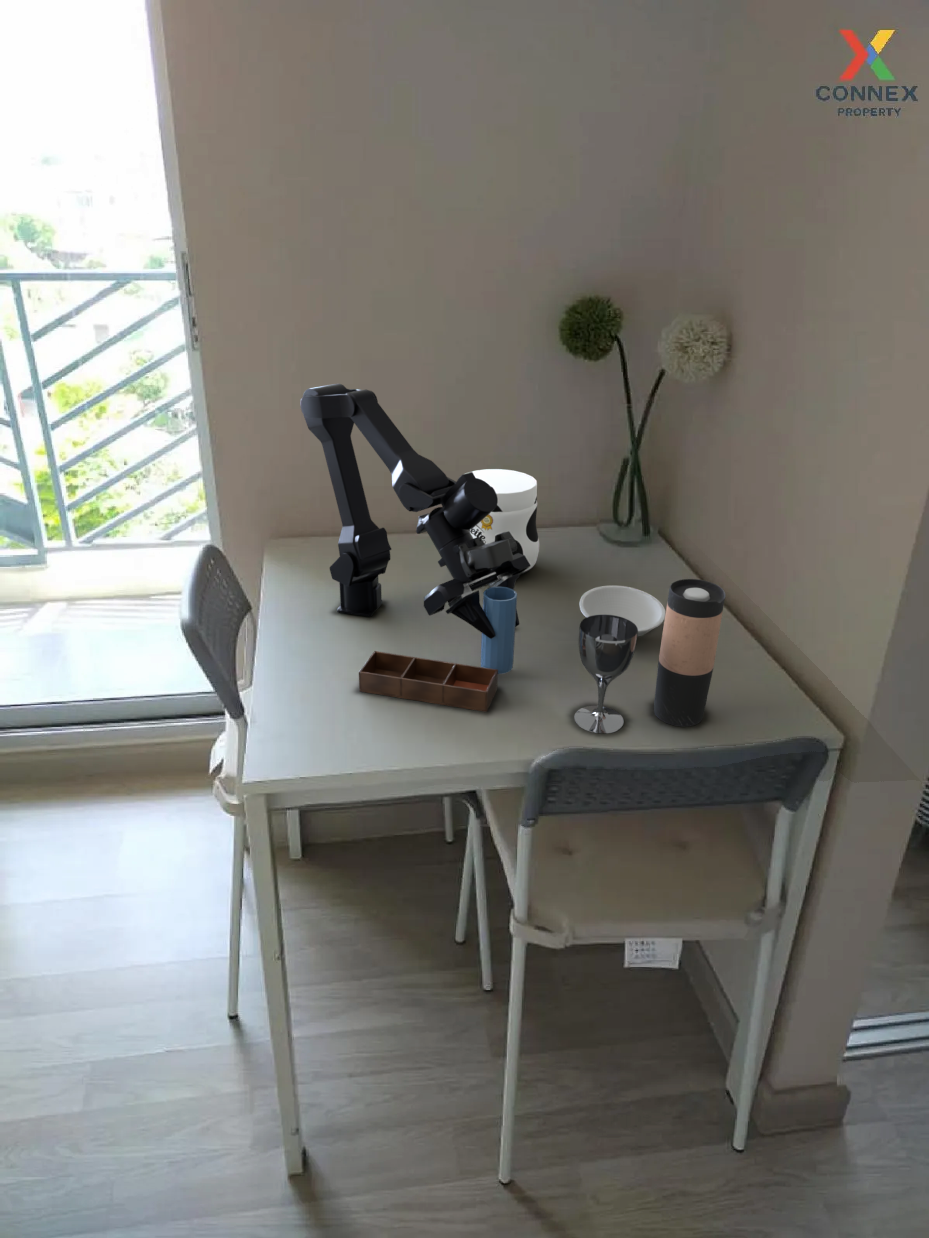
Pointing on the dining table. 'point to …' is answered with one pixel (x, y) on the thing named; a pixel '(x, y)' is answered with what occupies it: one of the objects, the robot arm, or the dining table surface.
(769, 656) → the dining table surface
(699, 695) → the travel mug
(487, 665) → the tumbler
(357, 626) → the dining table surface
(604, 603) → the dish
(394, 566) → the dining table surface
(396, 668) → the caddy
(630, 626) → the wine glass
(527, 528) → the milk container
